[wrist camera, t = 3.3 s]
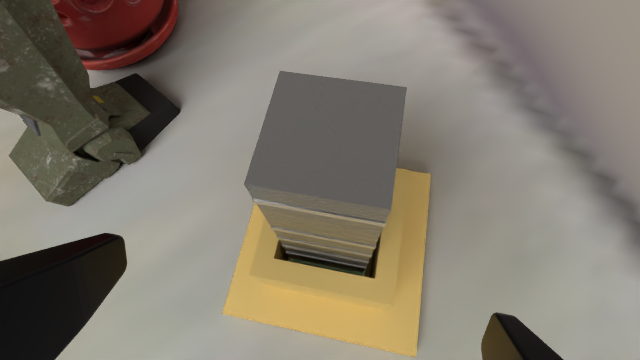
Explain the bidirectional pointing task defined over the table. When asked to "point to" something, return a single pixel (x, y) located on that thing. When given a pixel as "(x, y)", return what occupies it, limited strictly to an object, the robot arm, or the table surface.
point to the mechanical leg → (69, 106)
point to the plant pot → (116, 29)
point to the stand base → (341, 280)
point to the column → (328, 167)
